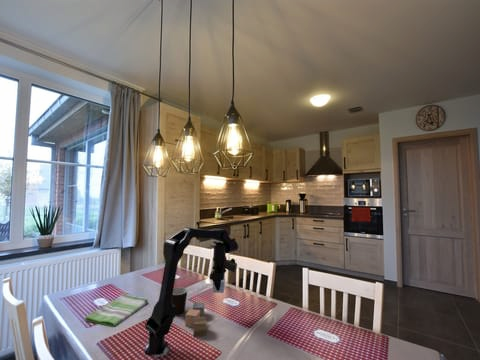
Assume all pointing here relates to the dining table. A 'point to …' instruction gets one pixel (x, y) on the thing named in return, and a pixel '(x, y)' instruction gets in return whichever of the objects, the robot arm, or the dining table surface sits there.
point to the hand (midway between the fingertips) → (218, 288)
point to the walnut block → (199, 326)
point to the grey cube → (220, 287)
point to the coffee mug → (179, 299)
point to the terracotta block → (191, 317)
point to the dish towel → (117, 310)
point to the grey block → (199, 307)
